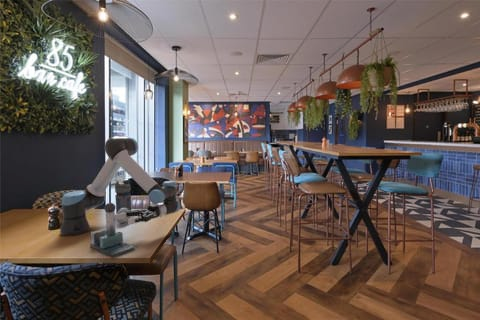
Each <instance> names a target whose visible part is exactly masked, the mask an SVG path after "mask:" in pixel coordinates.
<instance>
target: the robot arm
mask: <svg viewBox="0 0 480 320" xmlns="http://www.w3.org/2000/svg"><path fill="white" fill-rule="evenodd" d="M138 150H139V145H138V141H137V140H136V139H135V138H134V137H131V136H127V135H126V136H112V137H110V138H108V139H107V140H106V141H105V143H104V151H105V154H106V156H107V157H108V159H106V161H105V163H104V164H103V166H102V168H101V169H100V170H99V172H98V174H97V176H96V177H95V179H94V180H93V181H92V183H91V184H88V185H87V186H86V188H85V189H84V191H83V190H74V191H68V192H66V193H64V194H63V195H62V196H61V209H62V210H61V211H62V212H61V213H62V223H61V226H60V230H59V234H60V236H64V237H70V236H71V237H72V236H79V235H83V234H84V233H88V232H90V230H91V225H90V224H89V222H88V221H89V220H88V218H87V213H86V212H87V211H89V210H92V209H95V208H98V207H100V206H101V205H103V204H104V202H105V201H106V194H107V193H106V190H107V188H108V187H109V186H110V183H111V182H112V181H113V179H114V177H115V176H116V175H117V173H118V172H119V170H120V168H122V170H124V171H125V172H126V173H127V174H128V175H129V177H131V178H132V179H133V180H134V181H135V182H136V183H137V184H138V185H139V186H140V187H141V188H142V190H144V191H145V192H146V194H148V199H149V201H150V202H151V203H152V204H151V205H148V206H147V208H146V209H143V208H140V209H131V211H124V213H121V214H115V221H117V220H119V219H122V218H126V217H129V219H128V220H127V224H128V226H131V225H134V224H138V223H147V222H149V221H151V220H152V219H157V218H162V217H163V216H166V215H171V214H175V213H177V212H179V211H180V210H181V207H182V205H181V201H179V199H177V185H176V181H173V180H169V181H168V180H166V181H163V183H162V186H160V184H159V183H158V182H157V181H155V180H154V178H153V177H152V176H151V175H149V174H148V172H147V171H145V169H144V168H143V167H142V166H140V164H139V163H138V162H136V160H135V159H134V158H133V157H132V156H134V155H135V154H137V153H138ZM130 217H133V218H130Z"/></svg>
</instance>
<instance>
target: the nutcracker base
mask: <svg viewBox="0 0 480 320" xmlns="http://www.w3.org/2000/svg"><path fill="white" fill-rule="evenodd" d="M106 234H107V229H106V228H102V229H98V230H94V231H90V239H91V240H90V241H91V242H90V243H89V247H90V248H92V249H93V250H96V251H97V252H100V253H102V254H104V255H106V256H108V257H110V258H112V259H113V258H116V257H119V256H121V255H125V254H127V253H130V252H132V251H135V245H134V246H133V245H132V244H129V243H125V242H124V241H123V242H122V243H119V244H116V245H113V246H110V247H107V248H104V249H103V248H100V237H103V236H104V235H106Z"/></svg>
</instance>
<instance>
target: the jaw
mask: <svg viewBox="0 0 480 320" xmlns="http://www.w3.org/2000/svg"><path fill="white" fill-rule="evenodd" d="M103 209H104V212H105V225H106V229H107V235H106V236H103V237H100V248H103V249H104V248H107V247H110V246H113V245H116V244H119V243H122V242H124V239H123V235H124V234H123V232H122V231H117V232H116V220H115V215H116V204H115V203H113V202H109V203H106V204H105V205H104V208H103Z"/></svg>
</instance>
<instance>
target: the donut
mask: <svg viewBox="0 0 480 320" xmlns="http://www.w3.org/2000/svg"><path fill="white" fill-rule="evenodd" d="M124 211H129V210H128V209H127V208H121V209H120V210H119V211H118V213H117V214H121V213H124ZM117 214H116V215H117ZM128 219H130V217H126V218H122V219H119V220H116V221H117V222H118V223H119V224H125V223H127V222H128Z"/></svg>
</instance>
